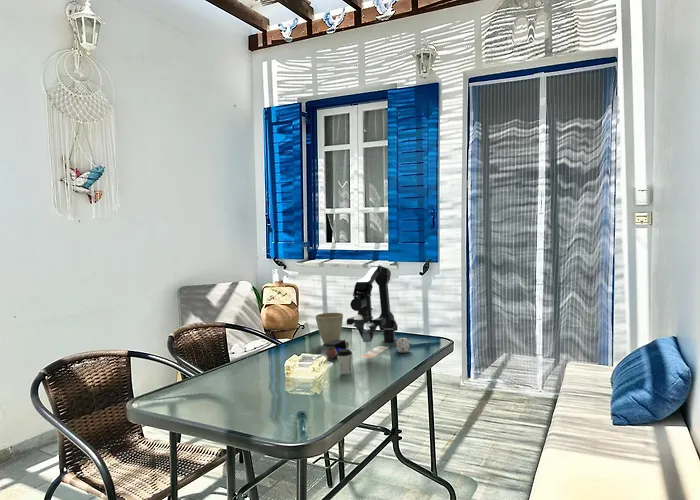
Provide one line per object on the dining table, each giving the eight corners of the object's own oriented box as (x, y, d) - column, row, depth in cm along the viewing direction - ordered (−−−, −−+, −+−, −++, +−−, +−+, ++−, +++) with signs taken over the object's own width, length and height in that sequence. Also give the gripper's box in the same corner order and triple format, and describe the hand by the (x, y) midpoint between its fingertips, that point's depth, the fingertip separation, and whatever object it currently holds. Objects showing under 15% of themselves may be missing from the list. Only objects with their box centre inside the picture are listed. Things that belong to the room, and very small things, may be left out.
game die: (406, 359, 244) (415, 341, 246) (406, 357, 236) (415, 339, 238) (390, 350, 246) (399, 333, 248) (389, 348, 238) (399, 330, 240)
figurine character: (338, 353, 256) (322, 358, 242) (337, 338, 256) (322, 342, 242) (349, 354, 252) (335, 359, 239) (349, 339, 253) (334, 343, 239)
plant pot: (325, 349, 260) (323, 319, 259) (313, 344, 273) (310, 315, 272) (350, 344, 267) (348, 314, 266) (336, 339, 280) (334, 311, 279)
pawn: (365, 339, 243) (364, 328, 242) (373, 340, 241) (372, 328, 240) (361, 341, 239) (360, 330, 239) (369, 342, 237) (368, 330, 236)
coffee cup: (356, 373, 215) (355, 350, 215) (342, 376, 212) (341, 353, 211) (348, 369, 221) (346, 347, 221) (334, 373, 218) (333, 350, 217)
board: (376, 346, 258) (376, 345, 258) (392, 347, 254) (392, 346, 254) (356, 358, 239) (356, 357, 239) (373, 359, 234) (373, 358, 234)
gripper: (339, 309, 236) (342, 342, 237) (375, 310, 227) (377, 344, 228) (351, 305, 246) (353, 336, 247) (385, 306, 237) (387, 338, 238)
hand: (367, 339), depth 240 cm, fingers closed on pawn, 4 cm apart
